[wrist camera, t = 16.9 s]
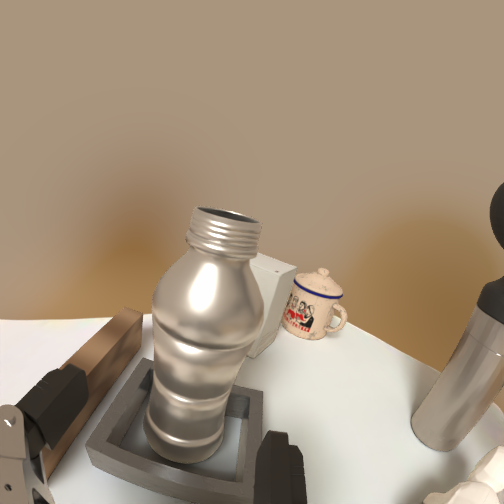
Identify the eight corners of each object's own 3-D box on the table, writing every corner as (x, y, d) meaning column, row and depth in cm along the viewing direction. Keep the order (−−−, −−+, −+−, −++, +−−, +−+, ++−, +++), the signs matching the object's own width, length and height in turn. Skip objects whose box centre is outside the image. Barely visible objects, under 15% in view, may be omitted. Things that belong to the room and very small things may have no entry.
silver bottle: (151, 409, 22) (179, 196, 17) (219, 425, 22) (280, 221, 18) (136, 460, 15) (147, 205, 11) (217, 477, 16) (303, 242, 11)
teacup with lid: (269, 319, 49) (288, 259, 46) (301, 313, 54) (319, 260, 52) (317, 355, 40) (345, 289, 37) (346, 343, 46) (371, 285, 43)
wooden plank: (123, 340, 31) (125, 306, 30) (140, 346, 31) (143, 313, 30) (13, 476, 7) (-13, 444, 6) (37, 495, 7) (12, 467, 6)
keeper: (142, 381, 25) (143, 357, 24) (253, 413, 25) (262, 391, 24) (92, 465, 13) (84, 444, 12) (246, 512, 13) (258, 498, 12)
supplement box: (275, 341, 41) (300, 267, 39) (253, 360, 35) (280, 275, 32) (236, 321, 45) (256, 250, 42) (210, 336, 38) (229, 254, 35)
